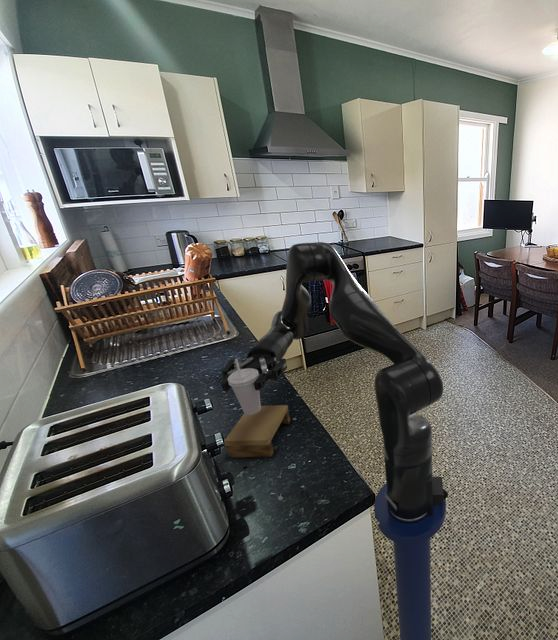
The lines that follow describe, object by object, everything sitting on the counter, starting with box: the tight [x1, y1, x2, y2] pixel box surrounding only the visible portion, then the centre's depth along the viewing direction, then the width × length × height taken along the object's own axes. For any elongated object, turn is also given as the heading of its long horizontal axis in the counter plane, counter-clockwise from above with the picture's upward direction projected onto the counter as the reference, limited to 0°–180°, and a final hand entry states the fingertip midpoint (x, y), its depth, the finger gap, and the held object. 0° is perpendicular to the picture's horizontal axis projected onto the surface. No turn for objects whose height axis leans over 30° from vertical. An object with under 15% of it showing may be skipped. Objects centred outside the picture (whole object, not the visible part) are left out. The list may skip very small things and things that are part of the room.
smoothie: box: [228, 358, 262, 415], centre depth 79 cm, size 6×6×14 cm
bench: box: [223, 404, 291, 458], centre depth 86 cm, size 10×13×5 cm
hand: (240, 387), depth 76 cm, fingers closed on smoothie, 6 cm apart
